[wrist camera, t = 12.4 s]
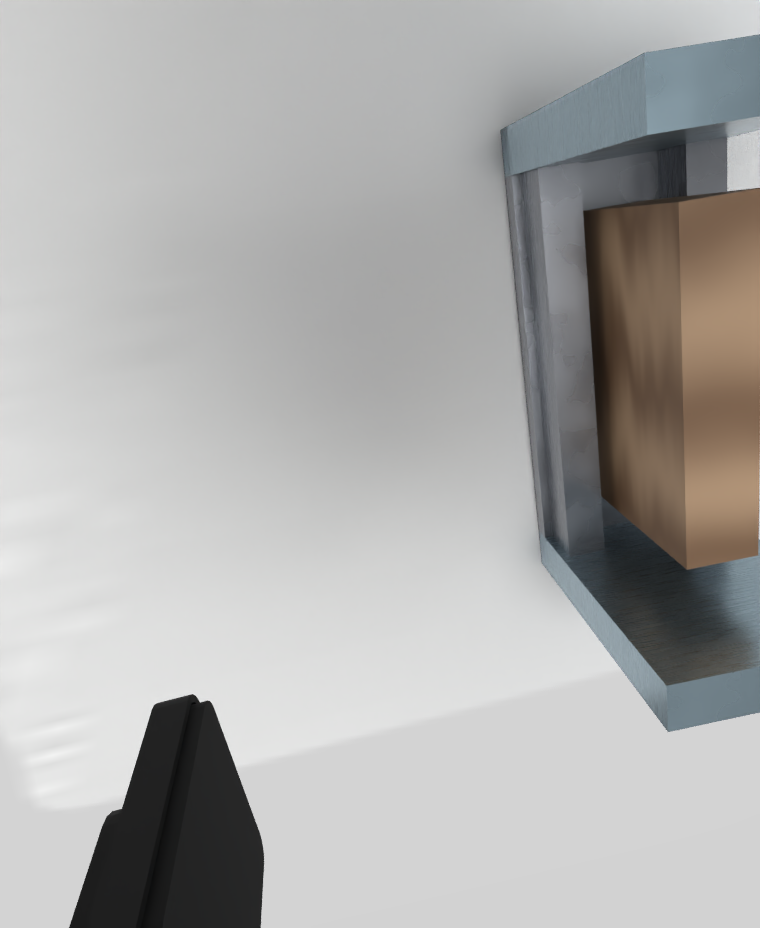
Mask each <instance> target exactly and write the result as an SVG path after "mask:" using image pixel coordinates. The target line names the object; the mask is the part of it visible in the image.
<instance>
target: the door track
mask: <svg viewBox="0 0 760 928" xmlns="http://www.w3.org/2000/svg"><path fill="white" fill-rule="evenodd" d="M757 130H760V35H753V36H747V37H741V38H735V39H728V40H722V41H716V42H709V43H703V44H697V45H691V46H684V47H678V48H672V49H666V50H659V51H653V52H647V53H643V54H641V55H640V56H638V57H636V58H634V59H632V60H630V61H628V62H626V63H625V64H623V65H621V66H619V67H617V68H615V69H613V70H612V71H610V72H608V73H606V74H604V75H602V76H600V77H599V78H597V79H595V80H593V81H591V82H589V83H587V84H585V85H584V86H582V87H580V88H578V89H576V90H574V91H572V92H571V93H569V94H567V95H565V96H563V97H561V98H559V99H558V100H556V101H554V102H552V103H550V104H548V105H546V106H544V107H543V108H541V109H539V110H537V111H535V112H533V113H531V114H530V115H528V116H526V117H524V118H522V119H520V120H518V121H516V122H515V123H513V124H511V125H509V126H507V127H505V128H503V129H502V130H501V139H502V150H503V160H504V170H505V181H506V191H507V202H508V212H509V223H510V233H511V243H512V254H513V264H514V275H515V285H516V296H517V306H518V317H519V327H520V337H521V348H522V358H523V369H524V379H525V390H526V400H527V411H528V421H529V431H530V442H531V452H532V463H533V473H534V484H535V494H536V505H537V515H538V525H539V536H540V546H541V557H542V564H543V565H544V567H545V568H546V569H547V571H548V572H549V573H550V575H551V576H552V577H553V579H554V580H555V581H556V583H557V584H558V585H559V587H560V588H561V589H562V591H563V592H564V593H565V595H566V596H567V597H568V599H569V600H570V601H571V603H572V604H573V605H574V607H575V608H576V609H577V611H578V612H579V613H580V615H581V616H582V617H583V619H584V620H585V621H586V623H587V624H588V625H589V627H590V628H591V629H592V631H593V632H594V633H595V635H596V636H597V637H598V639H599V640H600V641H601V643H602V644H603V645H604V647H605V648H606V649H607V651H608V652H609V653H610V655H611V656H612V658H613V659H614V660H615V662H616V663H617V664H618V666H619V667H620V668H621V670H622V671H623V672H624V673H625V675H626V676H627V678H628V679H629V680H630V682H631V683H632V684H633V685H634V687H635V688H636V690H637V691H638V692H639V694H640V695H641V696H642V697H643V699H644V700H645V702H646V703H647V704H648V706H649V707H650V708H651V710H652V711H653V712H654V714H655V715H656V716H657V718H658V719H659V720H660V722H661V723H662V724H663V726H664V727H665V728H666V730H667V731H668V732H670V731H675V730H680V729H684V728H689V727H693V726H698V725H703V724H708V723H712V722H716V721H721V720H726V719H731V718H736V717H740V716H745V715H750V714H754V713H759V712H760V540H759V539H758V556H753V557H748V558H743V559H738V560H733V561H728V562H723V563H718V564H713V565H708V566H703V567H698V568H693V569H688V570H687V569H685V568H684V567H683V566H682V565H681V564H680V563H678V562H677V561H676V560H675V559H674V558H673V557H671V556H670V555H669V554H668V553H667V552H666V551H664V550H663V549H662V548H661V547H660V546H659V545H657V544H656V543H655V542H654V541H653V540H652V539H650V538H649V537H648V536H647V535H646V534H645V533H643V532H642V531H641V530H640V529H639V528H638V527H636V526H635V525H634V524H633V523H632V522H630V521H629V520H628V519H627V518H626V517H625V516H623V515H622V514H621V513H620V512H619V511H618V510H616V509H615V508H614V507H613V506H612V505H611V504H609V503H608V502H607V501H606V500H605V499H604V498H602V497H601V485H600V469H599V453H598V438H597V422H596V406H595V390H594V375H593V359H592V343H591V328H590V312H589V296H588V280H587V265H586V249H585V233H584V218H583V211H585V210H591V209H597V208H603V207H609V206H614V205H620V204H626V203H632V202H638V201H645V200H654V199H663V198H672V197H682V196H691V195H700V194H709V193H718V192H727V138H728V137H732V136H736V135H740V134H745V133H749V132H753V131H757Z"/></svg>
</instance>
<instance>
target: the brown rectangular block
mask: <svg viewBox="0 0 760 928" xmlns="http://www.w3.org/2000/svg"><path fill="white" fill-rule="evenodd" d="M583 218H584V233H585V249H586V265H587V280H588V296H589V312H590V328H591V343H592V359H593V375H594V390H595V406H596V422H597V438H598V453H599V469H600V485H601V497H602V498H604V499H605V500H606V501H607V502H608V503H609V504H611V505H612V506H613V507H614V508H615V509H616V510H618V511H619V512H620V513H621V514H622V515H623V516H625V517H626V518H627V519H628V520H629V521H630V522H632V523H633V524H634V525H635V526H636V527H638V528H639V529H640V530H641V531H642V532H643V533H645V534H646V535H647V536H648V537H649V538H650V539H652V540H653V541H654V542H655V543H656V544H657V545H659V546H660V547H661V548H662V549H663V550H664V551H666V552H667V553H668V554H669V555H670V556H671V557H673V558H674V559H675V560H676V561H677V562H678V563H680V564H681V565H682V566H683V567H684V568H685V569H687V570H688V569H693V568H698V567H703V566H708V565H713V564H718V563H723V562H728V561H733V560H738V559H743V558H748V557H753V556H758V534H759V460H760V188H755V189H746V190H737V191H728V192H718V193H709V194H700V195H691V196H682V197H672V198H663V199H654V200H645V201H638V202H632V203H626V204H620V205H614V206H609V207H603V208H597V209H591V210H585V211H583Z"/></svg>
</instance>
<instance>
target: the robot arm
mask: <svg viewBox="0 0 760 928" xmlns="http://www.w3.org/2000/svg"><path fill="white" fill-rule="evenodd" d="M263 872H264V853H263V845H262V840H261V836H260V833H259V830H258V827H257V824H256V822H255V819H254V816H253V814H252V811H251V808H250V806H249V803H248V800H247V797H246V794H245V792H244V789H243V786H242V784H241V781H240V778H239V775H238V773H237V770H236V767H235V764H234V762H233V759H232V756H231V753H230V751H229V748H228V745H227V743H226V740H225V737H224V734H223V732H222V729H221V726H220V723H219V721H218V718H217V715H216V712H215V710H214V707H213V705H212V703H211V702H210V701H205V702H201V703H200V702H199V700H198V698H197V697H196V696H195V695H193V694H192V695H188V696H184V697H180V698H176V699H172V700H168V701H164V702H160V703H157V704H155V705H154V707H153V709H152V712H151V715H150V718H149V722H148V725H147V728H146V731H145V735H144V738H143V741H142V745H141V748H140V751H139V755H138V758H137V761H136V765H135V768H134V771H133V774H132V778H131V781H130V784H129V788H128V791H127V794H126V798H125V801H124V804H123V807H122V809H120V810H116V811H112V812H111V813H110V814H109V815H108V816H107V818H106V820H105V822H104V824H103V826H102V829H101V832H100V835H99V838H98V841H97V845H96V847H95V850H94V854H93V857H92V860H91V863H90V866H89V869H88V872H87V875H86V878H85V881H84V884H83V887H82V890H81V893H80V896H79V900H78V902H77V906H76V908H75V912H74V915H73V918H72V921H71V924H70V927H69V928H261V927H260V926H261V909H262V908H261V907H262V891H263V890H262V889H263Z"/></svg>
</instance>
